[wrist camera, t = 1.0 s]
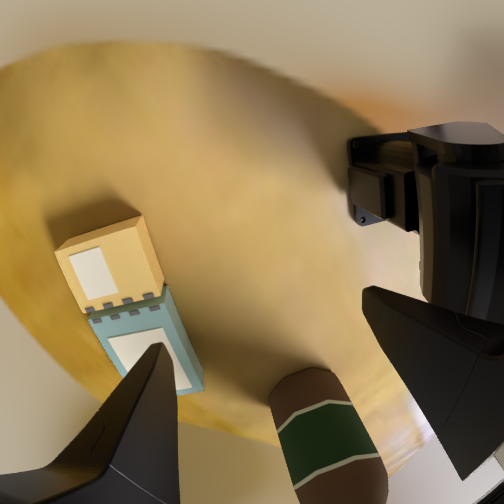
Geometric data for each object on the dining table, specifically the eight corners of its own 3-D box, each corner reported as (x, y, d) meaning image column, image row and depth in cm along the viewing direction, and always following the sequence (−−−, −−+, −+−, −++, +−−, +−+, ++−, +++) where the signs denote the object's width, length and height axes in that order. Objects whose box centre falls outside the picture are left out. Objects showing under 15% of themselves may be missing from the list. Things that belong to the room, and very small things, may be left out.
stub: (142, 215, 18) (134, 226, 15) (164, 278, 20) (160, 296, 17) (68, 238, 17) (53, 252, 15) (92, 295, 19) (82, 314, 17)
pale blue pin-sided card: (167, 284, 20) (164, 303, 18) (203, 370, 24) (204, 391, 21) (96, 302, 20) (87, 320, 17) (142, 381, 23) (139, 401, 21)
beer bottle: (327, 407, 29) (405, 578, 7) (262, 416, 28) (320, 612, 6) (346, 360, 26) (460, 561, 5) (271, 369, 25) (359, 618, 3)
